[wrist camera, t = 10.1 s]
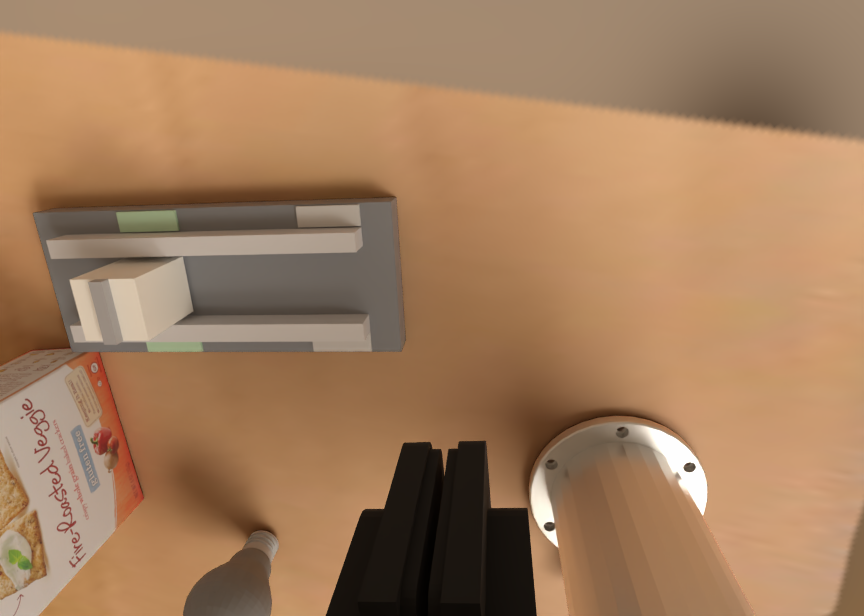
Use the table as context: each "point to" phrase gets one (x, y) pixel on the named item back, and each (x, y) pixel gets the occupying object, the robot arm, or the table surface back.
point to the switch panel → (247, 272)
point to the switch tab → (132, 299)
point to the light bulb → (237, 582)
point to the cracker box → (57, 473)
